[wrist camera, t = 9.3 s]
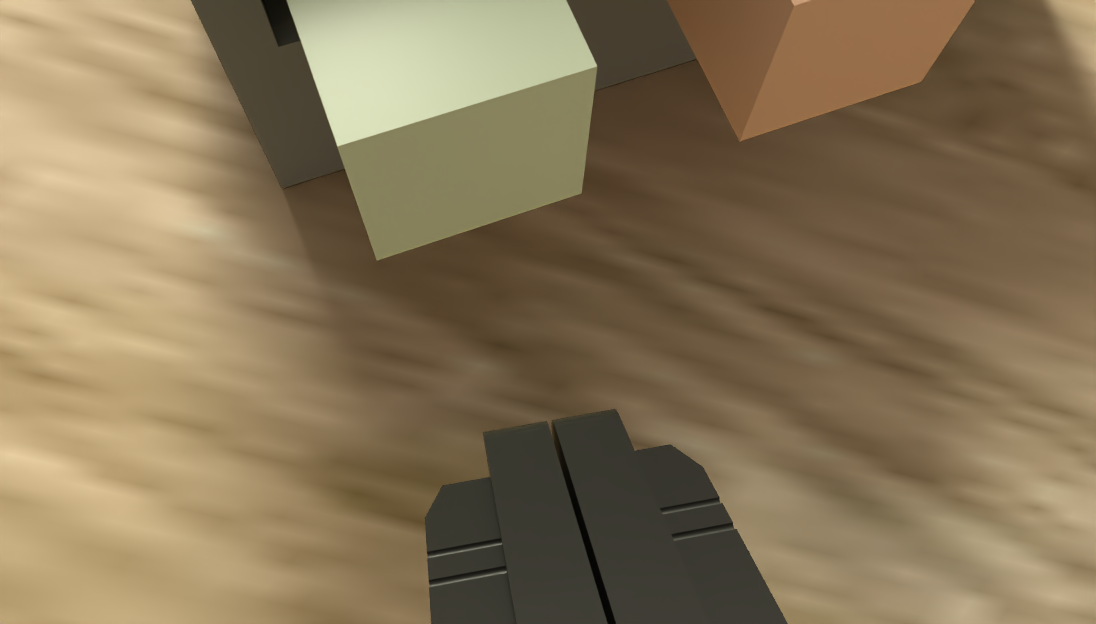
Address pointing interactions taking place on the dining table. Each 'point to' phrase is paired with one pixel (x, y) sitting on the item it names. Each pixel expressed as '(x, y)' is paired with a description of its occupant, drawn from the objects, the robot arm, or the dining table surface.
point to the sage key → (450, 109)
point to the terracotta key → (811, 52)
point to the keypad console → (293, 100)
